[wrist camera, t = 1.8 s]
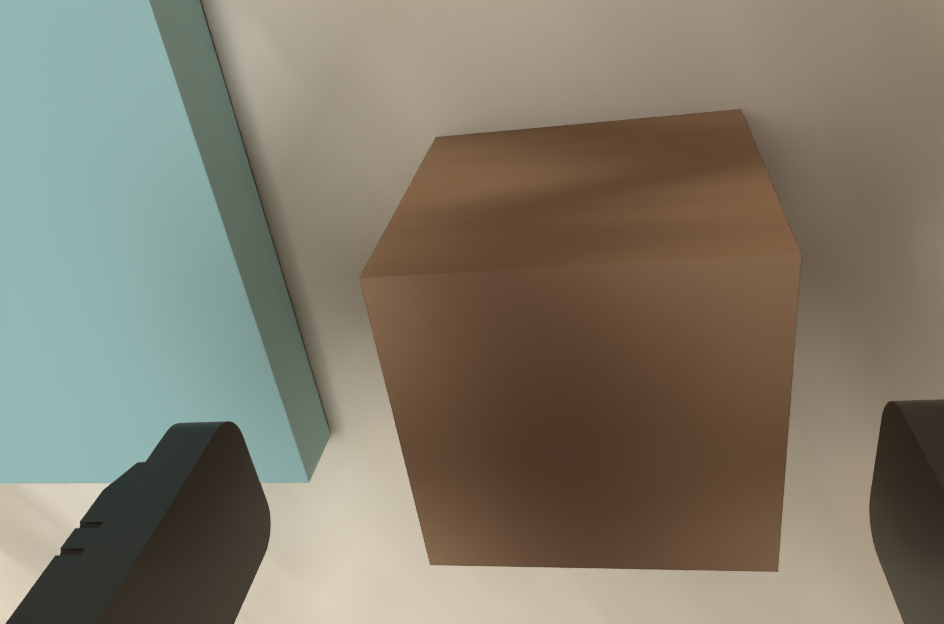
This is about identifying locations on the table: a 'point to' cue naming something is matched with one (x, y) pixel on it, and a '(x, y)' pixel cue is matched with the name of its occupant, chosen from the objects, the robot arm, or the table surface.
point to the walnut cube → (592, 345)
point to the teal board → (135, 251)
